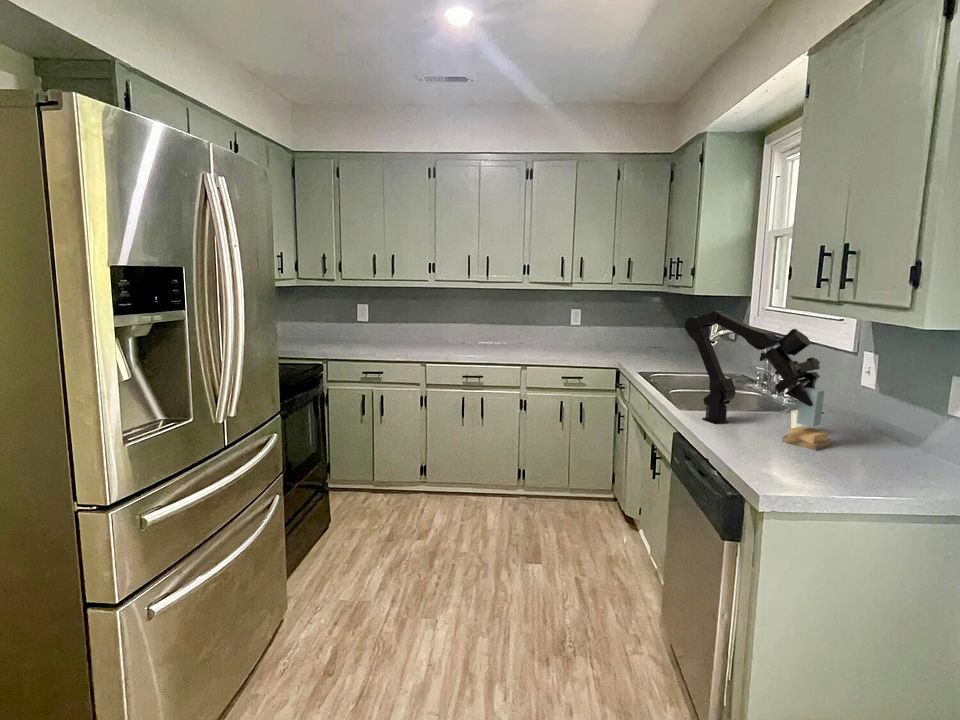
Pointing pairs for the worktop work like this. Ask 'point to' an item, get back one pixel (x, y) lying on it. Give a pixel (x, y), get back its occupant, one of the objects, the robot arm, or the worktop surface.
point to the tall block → (811, 408)
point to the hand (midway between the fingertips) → (815, 404)
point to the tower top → (808, 434)
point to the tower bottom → (805, 443)
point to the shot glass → (795, 420)
